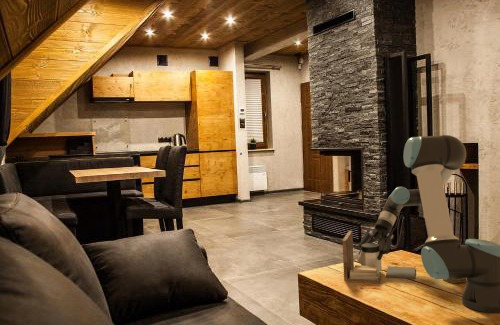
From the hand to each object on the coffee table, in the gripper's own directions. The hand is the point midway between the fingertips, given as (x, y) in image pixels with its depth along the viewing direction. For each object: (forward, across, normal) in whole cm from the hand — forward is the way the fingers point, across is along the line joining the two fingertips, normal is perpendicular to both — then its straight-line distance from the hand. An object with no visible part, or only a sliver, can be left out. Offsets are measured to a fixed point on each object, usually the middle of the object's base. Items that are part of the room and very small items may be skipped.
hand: (366, 263), depth 196 cm
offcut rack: (+5, 0, -2) cm, 5 cm away
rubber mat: (-4, -11, -11) cm, 16 cm away
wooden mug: (-8, -34, -15) cm, 38 cm away
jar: (+1, 0, -5) cm, 5 cm away
